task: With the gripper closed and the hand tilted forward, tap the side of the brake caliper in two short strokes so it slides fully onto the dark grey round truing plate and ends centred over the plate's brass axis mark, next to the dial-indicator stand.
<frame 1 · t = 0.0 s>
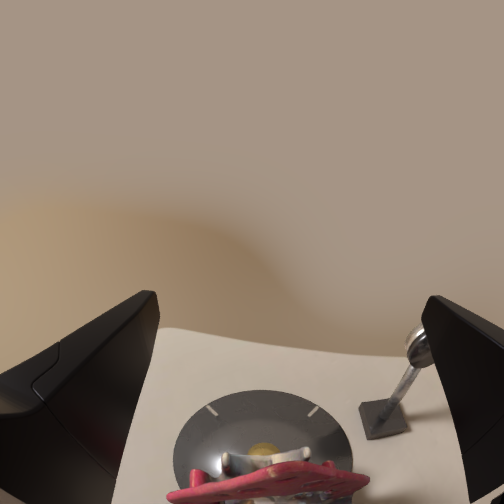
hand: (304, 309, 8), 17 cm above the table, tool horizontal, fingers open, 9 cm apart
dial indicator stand: (380, 420, 20), on the table
truing plate: (264, 456, 17), on the table
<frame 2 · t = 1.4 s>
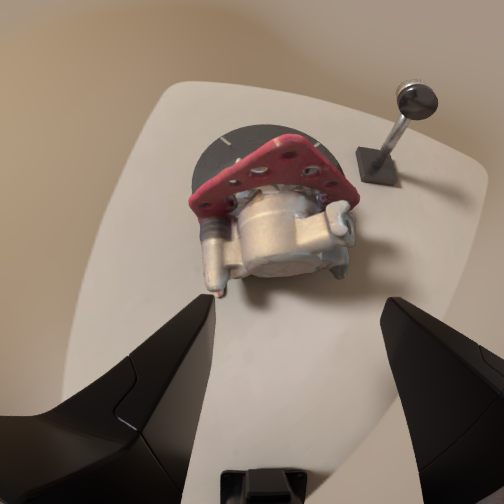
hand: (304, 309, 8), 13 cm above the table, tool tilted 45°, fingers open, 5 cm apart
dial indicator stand: (374, 168, 25), on the table
truing plate: (270, 179, 24), on the table
brake caliper: (270, 237, 23), on the table, touching truing plate
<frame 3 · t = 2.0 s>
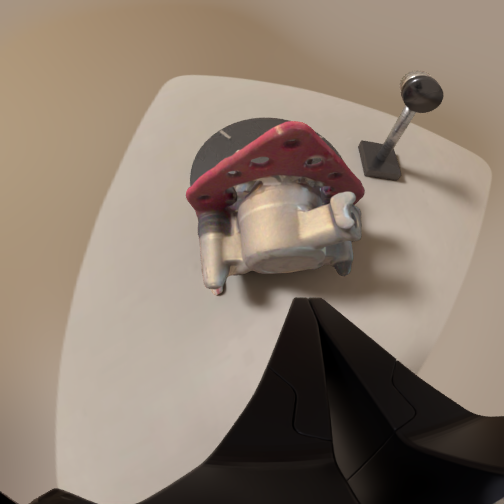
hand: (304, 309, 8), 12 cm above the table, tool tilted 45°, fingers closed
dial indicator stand: (377, 163, 25), on the table
truing plate: (271, 173, 24), on the table
brake caliper: (271, 232, 22), on the table, touching truing plate
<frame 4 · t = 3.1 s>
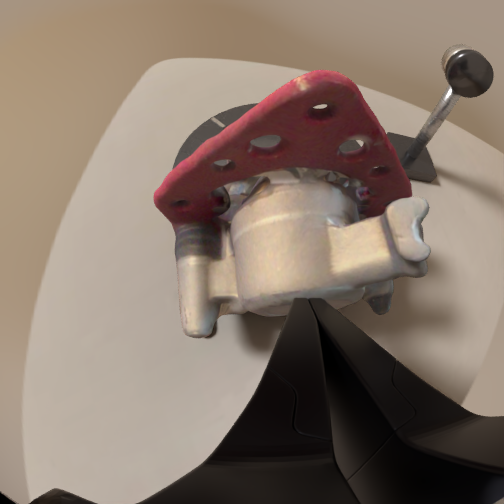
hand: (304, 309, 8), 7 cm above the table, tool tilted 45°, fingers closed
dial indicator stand: (407, 160, 19), on the table
truing plate: (278, 171, 18), on the table
brake caliper: (279, 250, 16), on the table, touching truing plate
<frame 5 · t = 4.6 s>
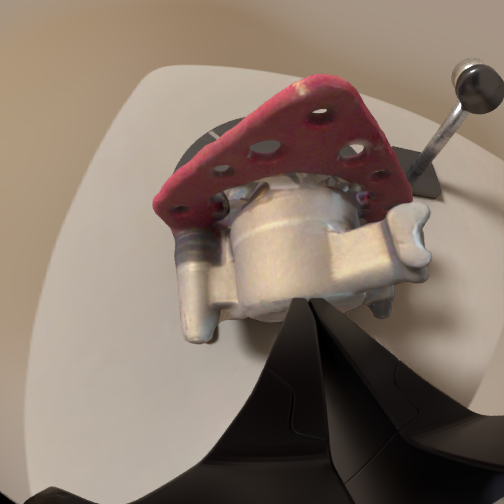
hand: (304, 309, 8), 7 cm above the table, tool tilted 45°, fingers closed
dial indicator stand: (411, 175, 18), on the table
truing plate: (278, 190, 17), on the table
brake caliper: (279, 255, 16), resting on truing plate, touching gripper
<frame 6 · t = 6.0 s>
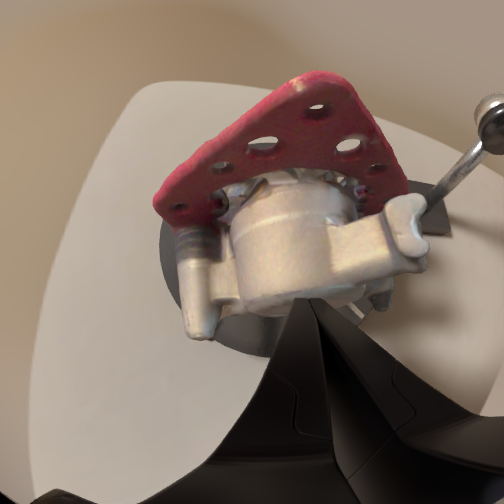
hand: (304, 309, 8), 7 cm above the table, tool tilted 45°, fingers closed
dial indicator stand: (420, 210, 17), on the table
truing plate: (278, 234, 16), on the table
brake caliper: (278, 251, 16), resting on truing plate
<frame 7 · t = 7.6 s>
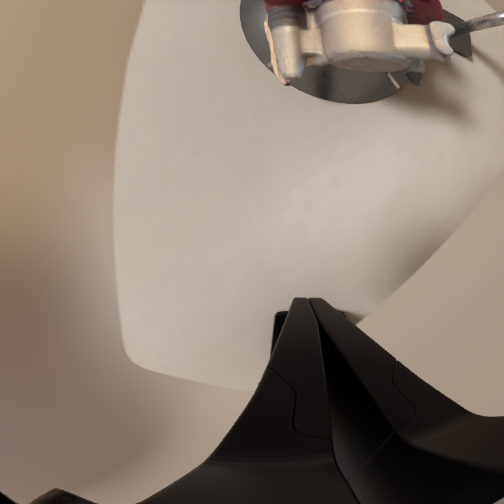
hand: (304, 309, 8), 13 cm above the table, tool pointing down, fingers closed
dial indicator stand: (449, 32, 13), on the table
truing plate: (337, 18, 14), on the table
brake caliper: (338, 29, 14), resting on truing plate
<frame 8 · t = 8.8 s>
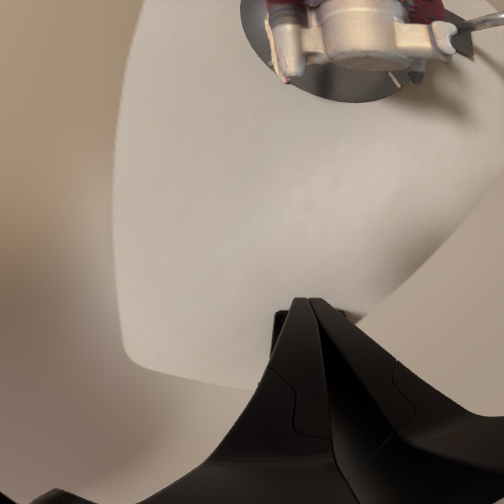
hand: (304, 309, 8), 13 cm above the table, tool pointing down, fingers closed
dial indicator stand: (450, 31, 13), on the table
truing plate: (338, 16, 14), on the table
brake caliper: (339, 27, 14), resting on truing plate
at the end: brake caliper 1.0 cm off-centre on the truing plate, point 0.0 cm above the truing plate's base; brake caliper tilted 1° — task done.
